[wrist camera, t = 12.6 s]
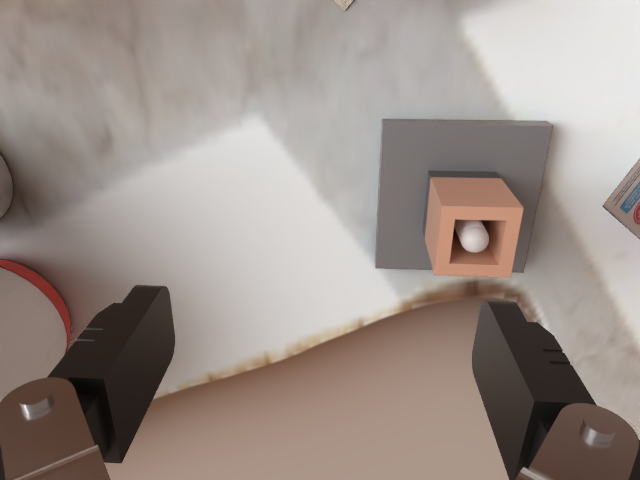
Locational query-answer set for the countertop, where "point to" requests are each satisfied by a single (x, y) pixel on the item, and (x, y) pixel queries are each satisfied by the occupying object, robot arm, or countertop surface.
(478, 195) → the sleeve
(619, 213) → the juice carton
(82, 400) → the robot arm
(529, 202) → the pin board
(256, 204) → the countertop surface
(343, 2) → the condiment
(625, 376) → the countertop surface
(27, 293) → the citrus juicer
